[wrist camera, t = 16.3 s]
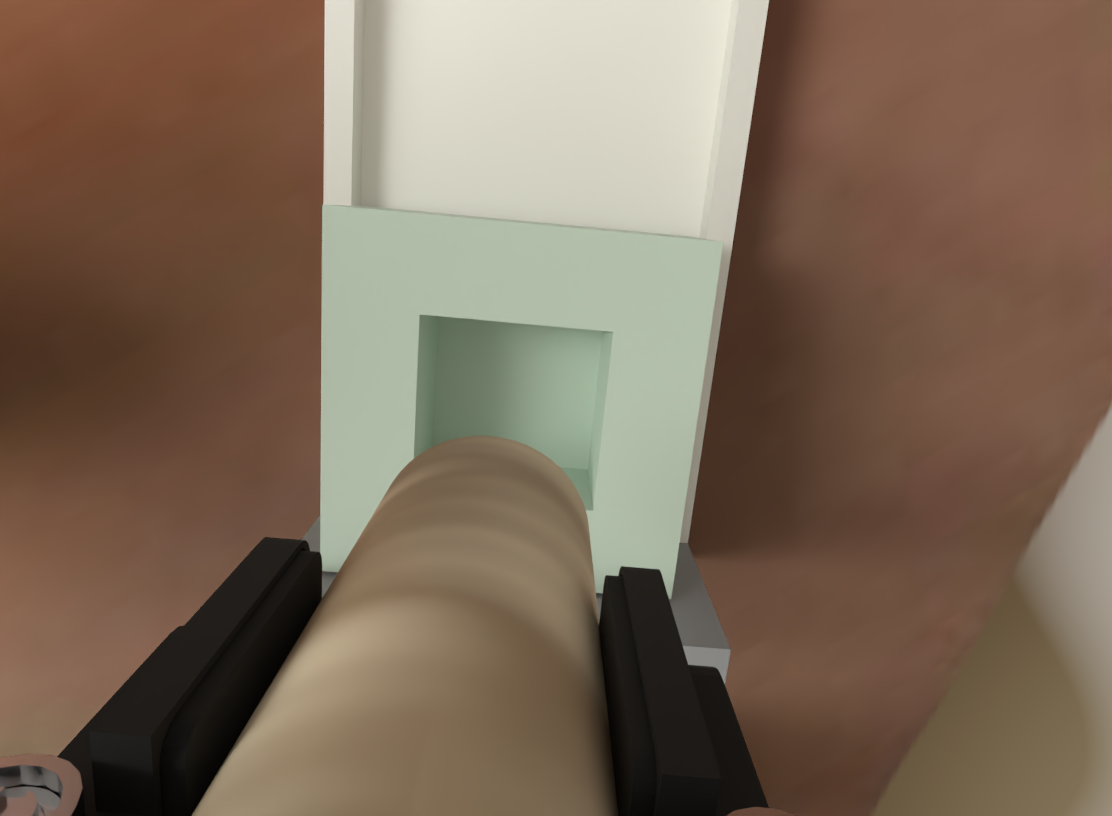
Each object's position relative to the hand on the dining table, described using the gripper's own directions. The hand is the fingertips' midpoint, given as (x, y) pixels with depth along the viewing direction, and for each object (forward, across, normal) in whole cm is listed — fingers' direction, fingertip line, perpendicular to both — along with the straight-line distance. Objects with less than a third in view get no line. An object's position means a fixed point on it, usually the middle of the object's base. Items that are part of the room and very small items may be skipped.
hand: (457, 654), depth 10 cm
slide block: (+19, 0, 0) cm, 19 cm away
